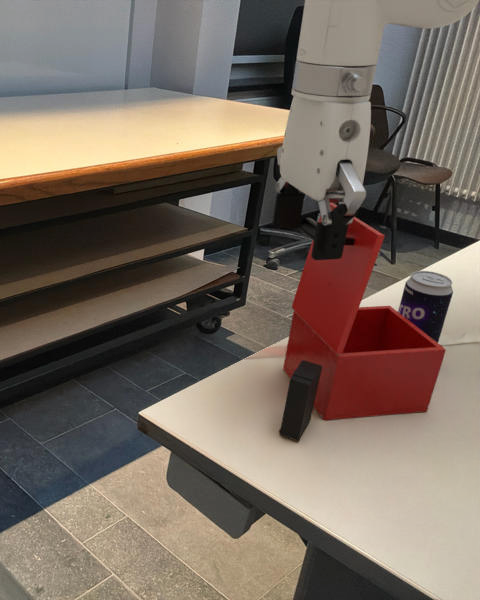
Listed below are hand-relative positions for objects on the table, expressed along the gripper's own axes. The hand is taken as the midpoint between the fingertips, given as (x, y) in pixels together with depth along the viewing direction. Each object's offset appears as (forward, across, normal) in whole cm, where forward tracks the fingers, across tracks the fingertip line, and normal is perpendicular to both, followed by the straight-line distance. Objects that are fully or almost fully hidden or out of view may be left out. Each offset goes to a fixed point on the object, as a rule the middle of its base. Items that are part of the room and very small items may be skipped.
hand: (304, 241), depth 75 cm
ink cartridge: (+21, -7, +1) cm, 22 cm away
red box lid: (+4, 0, -5) cm, 6 cm away
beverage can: (+21, +6, -22) cm, 31 cm away
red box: (+20, 0, -10) cm, 23 cm away
